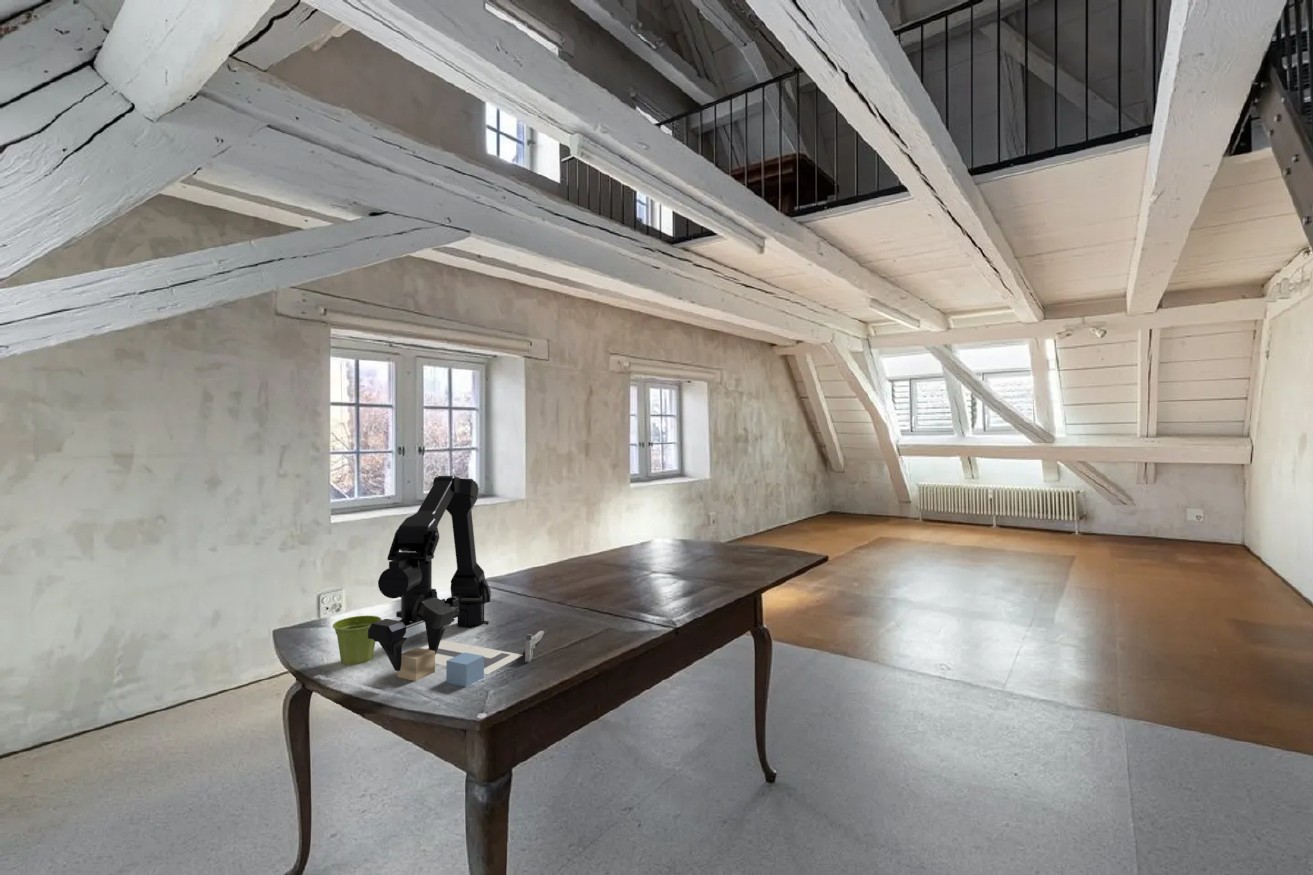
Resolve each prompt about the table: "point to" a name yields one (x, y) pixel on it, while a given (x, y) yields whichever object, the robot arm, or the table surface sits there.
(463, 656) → the blue cube
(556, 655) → the table surface
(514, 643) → the table surface
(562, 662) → the table surface
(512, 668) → the table surface
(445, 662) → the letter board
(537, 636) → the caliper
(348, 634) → the plant pot
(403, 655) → the wood block
